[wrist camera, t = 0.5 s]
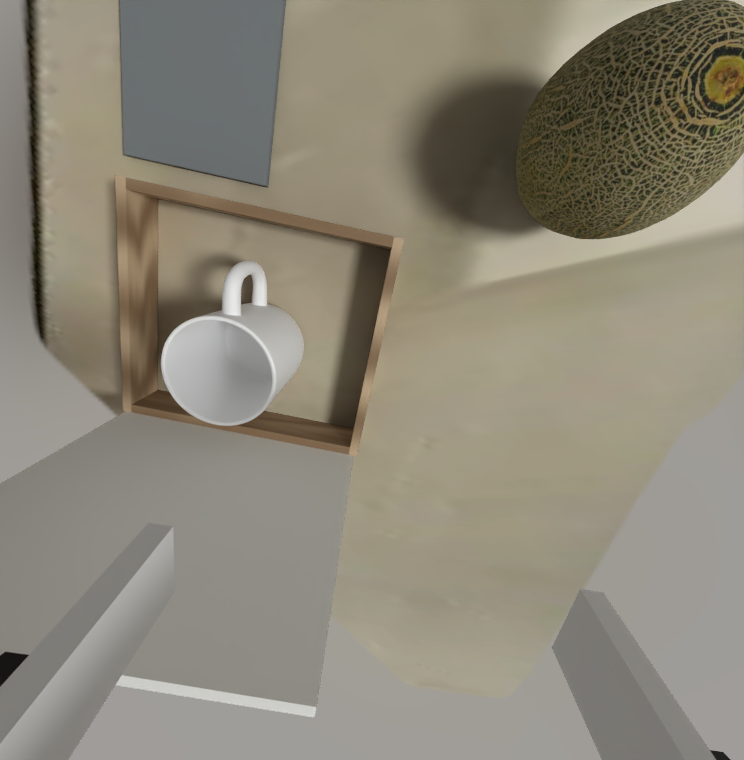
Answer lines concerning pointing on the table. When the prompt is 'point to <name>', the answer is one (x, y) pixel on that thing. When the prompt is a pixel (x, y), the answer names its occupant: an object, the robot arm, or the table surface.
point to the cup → (233, 354)
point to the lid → (186, 553)
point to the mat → (202, 84)
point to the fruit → (636, 122)
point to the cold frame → (142, 312)
